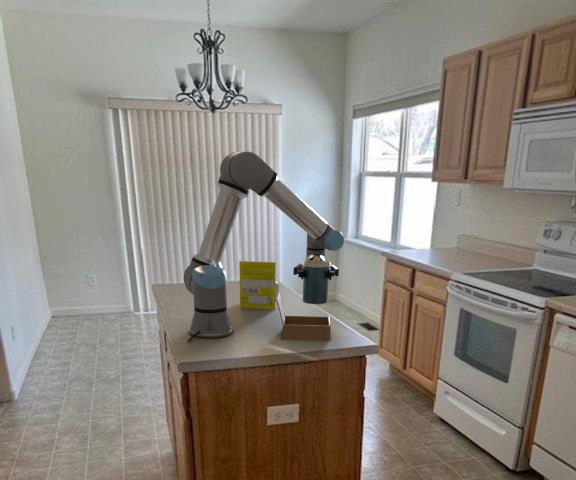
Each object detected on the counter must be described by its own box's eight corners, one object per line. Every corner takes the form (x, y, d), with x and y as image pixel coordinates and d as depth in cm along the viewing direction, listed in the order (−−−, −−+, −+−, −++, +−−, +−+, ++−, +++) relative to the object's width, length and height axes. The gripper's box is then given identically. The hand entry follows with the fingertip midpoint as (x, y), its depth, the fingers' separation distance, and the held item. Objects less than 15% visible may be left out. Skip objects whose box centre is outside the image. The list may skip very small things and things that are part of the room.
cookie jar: (317, 305, 187) (319, 259, 181) (296, 301, 193) (297, 256, 187) (333, 301, 194) (335, 256, 188) (313, 297, 200) (314, 253, 194)
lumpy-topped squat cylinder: (280, 299, 246) (280, 281, 243) (252, 300, 243) (252, 281, 240) (275, 294, 256) (275, 276, 253) (248, 295, 253) (248, 277, 250)
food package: (275, 309, 230) (275, 262, 223) (274, 309, 229) (275, 262, 222) (240, 307, 232) (239, 260, 224) (239, 308, 231) (239, 261, 223)
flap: (283, 322, 187) (282, 323, 187) (284, 313, 199) (283, 314, 199) (277, 300, 184) (276, 300, 184) (279, 292, 196) (278, 292, 196)
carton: (282, 339, 189) (282, 324, 187) (283, 329, 201) (284, 315, 199) (329, 340, 189) (330, 326, 187) (328, 330, 201) (329, 316, 199)
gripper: (343, 275, 207) (347, 287, 186) (287, 274, 208) (284, 285, 187) (344, 255, 204) (348, 265, 184) (287, 254, 205) (285, 264, 184)
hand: (316, 275), depth 185 cm, fingers closed on cookie jar, 9 cm apart
